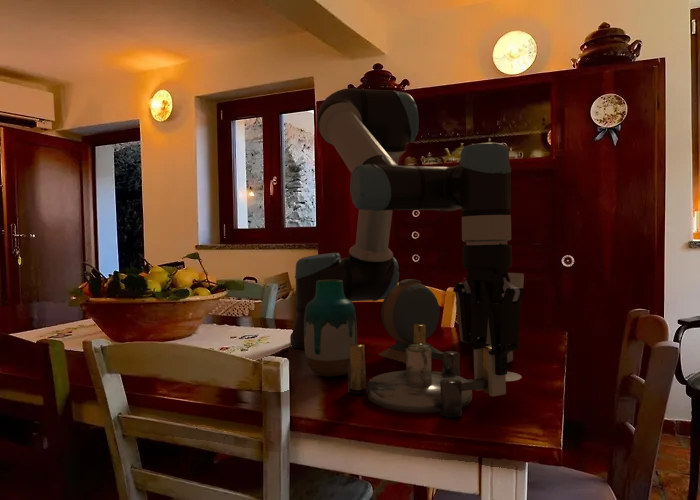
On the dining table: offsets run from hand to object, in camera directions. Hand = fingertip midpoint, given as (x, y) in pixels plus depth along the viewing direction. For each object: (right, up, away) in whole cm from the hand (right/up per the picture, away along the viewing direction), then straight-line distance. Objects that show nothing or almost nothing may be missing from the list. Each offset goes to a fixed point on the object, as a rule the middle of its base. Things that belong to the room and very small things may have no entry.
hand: (490, 391), depth 81 cm
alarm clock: (-8, -2, +38) cm, 39 cm away
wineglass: (+8, -3, +19) cm, 21 cm away
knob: (-21, -3, +7) cm, 22 cm away
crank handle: (-5, -2, +19) cm, 20 cm away
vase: (-26, -3, +22) cm, 34 cm away
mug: (+10, -2, +34) cm, 36 cm away
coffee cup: (+10, -2, +52) cm, 53 cm away
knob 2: (-3, -3, -1) cm, 5 cm away
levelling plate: (-10, -3, +8) cm, 13 cm away
